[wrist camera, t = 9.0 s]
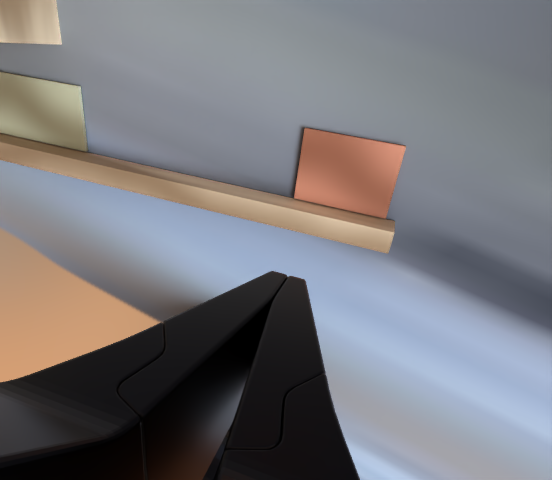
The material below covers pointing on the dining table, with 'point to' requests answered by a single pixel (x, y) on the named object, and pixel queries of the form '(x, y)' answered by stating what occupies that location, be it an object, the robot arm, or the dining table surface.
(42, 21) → the maple block
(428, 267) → the dining table surface
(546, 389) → the dining table surface
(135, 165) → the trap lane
